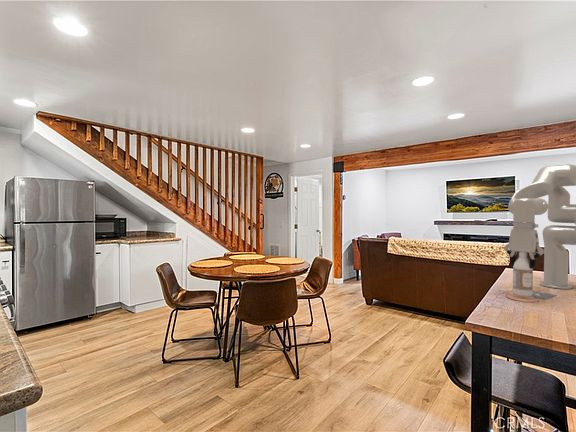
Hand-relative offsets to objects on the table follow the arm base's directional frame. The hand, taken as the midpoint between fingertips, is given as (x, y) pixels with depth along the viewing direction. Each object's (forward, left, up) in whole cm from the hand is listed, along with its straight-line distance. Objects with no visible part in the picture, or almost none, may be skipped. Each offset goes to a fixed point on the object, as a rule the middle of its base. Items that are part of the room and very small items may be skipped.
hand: (522, 266), depth 138 cm
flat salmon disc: (0, 0, -14) cm, 14 cm away
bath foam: (0, 0, -13) cm, 13 cm away
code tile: (-13, 0, -14) cm, 20 cm away
